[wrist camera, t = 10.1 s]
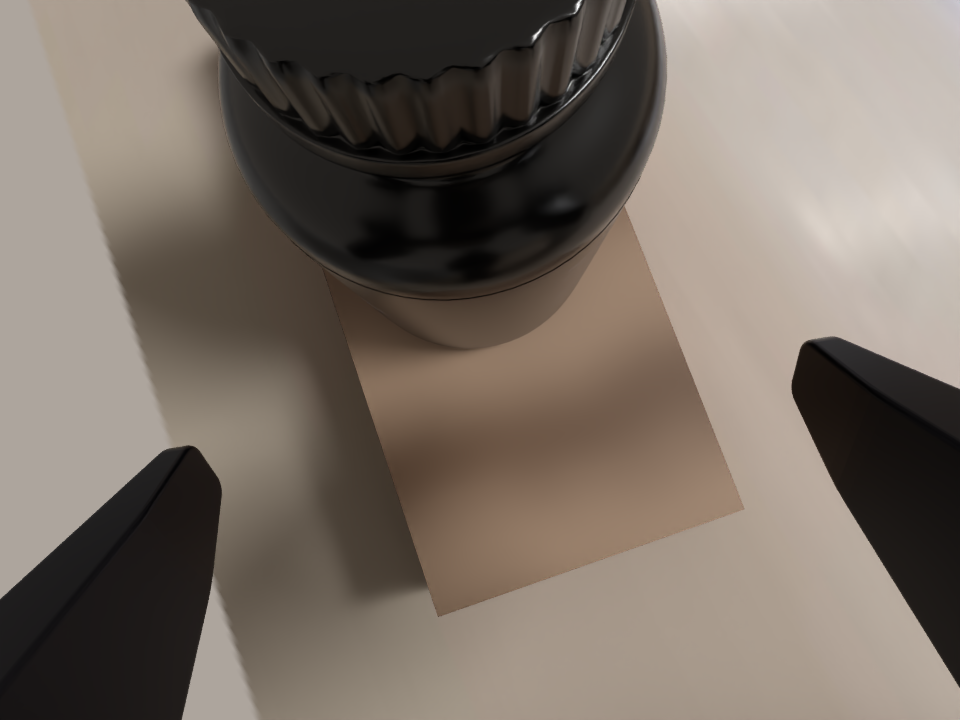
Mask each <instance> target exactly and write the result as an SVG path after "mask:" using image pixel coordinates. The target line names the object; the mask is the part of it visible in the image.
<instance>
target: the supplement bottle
mask: <svg viewBox="0 0 960 720" xmlns="http://www.w3.org/2000/svg"><path fill="white" fill-rule="evenodd" d="M186 2H187V3H188V4H189V6H190V7H191V8H192V11H193V13H194V14H195V16H196V18H197V19H198V21H199V22H200V24H201V25H202V26H203V27H204V29H205V30H206V31H207V33H208V34H209V35H210V37H211V38H212V39H213V40H214V42H215V43H216V44H217V46H218V48H219V57H218V89H219V101H220V108H221V115H222V120H223V124H224V128H225V132H226V136H227V140H228V143H229V146H230V149H231V152H232V154H233V157H234V160H235V162H236V164H237V166H238V169H239V171H240V173H241V175H242V177H243V179H244V181H245V183H246V185H247V186H248V188H249V190H250V191H251V193H252V194H253V196H254V198H255V199H256V201H257V202H258V204H259V205H260V206H261V208H262V209H263V210H264V211H265V213H266V214H267V215H268V217H269V218H270V219H271V220H272V221H273V222H274V223H275V224H276V225H277V226H278V227H279V229H280V230H281V231H282V232H283V233H284V234H285V235H286V236H287V237H288V238H289V239H290V240H291V241H292V242H293V243H294V244H295V245H296V246H297V247H299V248H300V249H301V250H302V251H303V252H304V253H306V254H307V255H308V256H309V257H310V258H311V259H313V260H314V261H315V262H316V263H318V264H319V265H320V266H321V267H323V268H324V269H325V270H326V271H328V272H329V273H330V274H332V275H333V276H334V277H335V278H337V279H338V280H339V281H340V282H342V283H343V284H344V285H345V286H347V287H348V288H349V289H351V290H352V291H353V292H354V293H356V294H357V295H358V296H359V297H361V298H362V299H363V300H364V301H366V302H367V303H368V304H370V305H371V306H372V307H373V308H375V309H376V310H377V311H378V312H380V313H381V314H382V315H383V316H385V317H386V318H387V319H389V320H390V321H391V322H393V323H394V324H396V325H397V326H399V327H400V328H402V329H403V330H405V331H406V332H408V333H410V334H412V335H414V336H416V337H418V338H420V339H422V340H425V341H428V342H431V343H434V344H437V345H441V346H446V347H451V348H460V349H477V348H487V347H492V346H497V345H501V344H504V343H508V342H510V341H513V340H515V339H518V338H520V337H522V336H524V335H526V334H528V333H530V332H531V331H533V330H534V329H536V328H537V327H539V326H540V325H542V324H543V323H544V322H545V321H547V320H548V319H549V318H550V317H551V316H552V315H553V314H554V313H555V312H556V311H558V309H559V308H560V307H561V306H562V305H563V304H564V302H565V301H566V300H567V298H568V297H569V296H570V294H571V293H572V291H573V290H574V289H575V287H576V286H577V284H578V282H579V281H580V279H581V277H582V276H583V274H584V272H585V271H586V269H587V267H588V266H589V264H590V262H591V261H592V259H593V257H594V256H595V254H596V252H597V251H598V249H599V247H600V246H601V244H602V242H603V241H604V239H605V237H606V236H607V234H608V232H609V231H610V229H611V227H612V226H613V224H614V222H615V221H616V219H617V217H618V216H619V214H620V212H621V211H622V209H623V207H624V206H625V204H626V202H627V201H628V199H629V197H630V195H631V193H632V192H633V190H634V188H635V186H636V184H637V183H638V181H639V179H640V177H641V174H642V172H643V170H644V168H645V165H646V163H647V161H648V158H649V156H650V154H651V151H652V149H653V146H654V143H655V140H656V137H657V134H658V131H659V127H660V124H661V119H662V114H663V109H664V104H665V94H666V83H667V55H666V46H665V37H664V31H663V26H662V22H661V17H660V13H659V9H658V6H657V3H656V0H186Z"/></svg>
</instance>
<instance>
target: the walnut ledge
mask: <svg viewBox="0 0 960 720" xmlns="http://www.w3.org/2000/svg"><path fill="white" fill-rule="evenodd" d="M322 268H323V267H322ZM323 271H324V274H325V277H326V280H327V283H328V286H329V289H330V293H331V296H332V299H333V302H334V305H335V308H336V311H337V314H338V317H339V320H340V323H341V326H342V329H343V332H344V335H345V338H346V341H347V344H348V347H349V350H350V353H351V356H352V359H353V362H354V365H355V368H356V371H357V374H358V377H359V380H360V383H361V386H362V389H363V392H364V395H365V398H366V401H367V404H368V407H369V410H370V413H371V416H372V419H373V422H374V425H375V428H376V431H377V434H378V437H379V440H380V443H381V446H382V449H383V452H384V455H385V458H386V461H387V464H388V467H389V470H390V473H391V476H392V480H393V483H394V486H395V489H396V492H397V495H398V498H399V501H400V504H401V507H402V510H403V513H404V516H405V519H406V522H407V525H408V528H409V531H410V534H411V537H412V540H413V543H414V546H415V549H416V552H417V555H418V558H419V561H420V564H421V567H422V570H423V573H424V576H425V579H426V582H427V585H428V588H429V591H430V594H431V597H432V600H433V603H434V606H435V609H436V612H437V615H438V617H439V616H442V615H445V614H448V613H451V612H454V611H456V610H459V609H462V608H465V607H468V606H471V605H473V604H476V603H479V602H482V601H485V600H488V599H491V598H493V597H496V596H499V595H502V594H505V593H508V592H510V591H513V590H516V589H519V588H522V587H525V586H528V585H530V584H533V583H536V582H539V581H542V580H545V579H547V578H550V577H553V576H556V575H559V574H562V573H564V572H567V571H570V570H573V569H576V568H579V567H582V566H584V565H587V564H590V563H593V562H596V561H599V560H601V559H604V558H607V557H610V556H613V555H616V554H618V553H621V552H624V551H627V550H630V549H633V548H636V547H638V546H641V545H644V544H647V543H650V542H653V541H655V540H658V539H661V538H664V537H667V536H670V535H672V534H675V533H678V532H681V531H684V530H687V529H690V528H692V527H695V526H698V525H701V524H704V523H707V522H709V521H712V520H715V519H718V518H721V517H724V516H727V515H729V514H732V513H735V512H738V511H741V510H744V507H743V504H742V501H741V499H740V496H739V494H738V491H737V489H736V486H735V484H734V481H733V479H732V476H731V474H730V471H729V469H728V466H727V464H726V461H725V459H724V456H723V453H722V451H721V448H720V446H719V443H718V441H717V438H716V436H715V433H714V431H713V428H712V426H711V423H710V421H709V418H708V416H707V413H706V411H705V408H704V405H703V403H702V400H701V398H700V395H699V393H698V390H697V388H696V385H695V383H694V380H693V378H692V375H691V373H690V370H689V368H688V365H687V363H686V360H685V358H684V355H683V352H682V350H681V347H680V345H679V342H678V340H677V337H676V335H675V332H674V330H673V327H672V325H671V322H670V320H669V317H668V315H667V312H666V310H665V307H664V304H663V302H662V299H661V297H660V294H659V292H658V289H657V287H656V284H655V282H654V279H653V277H652V274H651V272H650V269H649V267H648V264H647V262H646V259H645V257H644V254H643V251H642V249H641V246H640V244H639V241H638V239H637V236H636V234H635V231H634V229H633V226H632V224H631V221H630V219H629V216H628V214H627V211H626V209H625V206H624V207H623V209H622V211H621V212H620V214H619V216H618V217H617V219H616V221H615V222H614V224H613V226H612V227H611V229H610V231H609V232H608V234H607V236H606V237H605V239H604V241H603V242H602V244H601V246H600V247H599V249H598V251H597V252H596V254H595V256H594V257H593V259H592V261H591V262H590V264H589V266H588V267H587V269H586V271H585V272H584V274H583V276H582V277H581V279H580V281H579V282H578V284H577V286H576V287H575V289H574V290H573V291H572V293H571V294H570V296H569V297H568V298H567V300H566V301H565V302H564V304H563V305H562V306H561V307H560V308H559V309H558V311H556V312H555V313H554V314H553V315H552V316H551V317H550V318H549V319H548V320H547V321H545V322H544V323H543V324H542V325H540V326H539V327H537V328H536V329H534V330H533V331H531V332H530V333H528V334H526V335H524V336H522V337H520V338H518V339H515V340H513V341H510V342H508V343H504V344H501V345H497V346H492V347H487V348H477V349H460V348H451V347H446V346H441V345H437V344H434V343H431V342H428V341H425V340H422V339H420V338H418V337H416V336H414V335H412V334H410V333H408V332H406V331H405V330H403V329H402V328H400V327H399V326H397V325H396V324H394V323H393V322H391V321H390V320H389V319H387V318H386V317H385V316H383V315H382V314H381V313H380V312H378V311H377V310H376V309H375V308H373V307H372V306H371V305H370V304H368V303H367V302H366V301H364V300H363V299H362V298H361V297H359V296H358V295H357V294H356V293H354V292H353V291H352V290H351V289H349V288H348V287H347V286H345V285H344V284H343V283H342V282H340V281H339V280H338V279H337V278H335V277H334V276H333V275H332V274H330V273H329V272H328V271H326V270H325V269H324V268H323Z"/></svg>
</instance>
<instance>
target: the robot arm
mask: <svg viewBox="0 0 960 720" xmlns="http://www.w3.org/2000/svg"><path fill="white" fill-rule="evenodd" d="M792 394H793V398H794V400H795V403H796V405H797V407H798V409H799V411H800V413H801V415H802V417H803V420H804V422H805V424H806V426H807V428H808V430H809V432H810V434H811V437H812V439H813V441H814V443H815V445H816V447H817V449H818V451H819V453H820V456H821V458H822V460H823V462H824V464H825V466H826V468H827V470H828V473H829V475H830V477H831V478H832V480H833V482H834V484H835V486H836V488H837V490H838V492H839V493H840V495H841V497H842V498H843V500H844V502H845V504H846V505H847V507H848V508H849V510H850V512H851V513H852V515H853V516H854V518H855V520H856V521H857V523H858V524H859V526H860V528H861V529H862V531H863V533H864V534H865V536H866V537H867V539H868V541H869V542H870V544H871V545H872V547H873V549H874V550H875V552H876V554H877V555H878V557H879V558H880V560H881V562H882V563H883V565H884V566H885V568H886V570H887V571H888V573H889V575H890V576H891V578H892V579H893V581H894V583H895V584H896V586H897V587H898V589H899V591H900V592H901V594H902V596H903V597H904V599H905V600H906V602H907V604H908V605H909V607H910V608H911V610H912V612H913V613H914V615H915V616H916V618H917V620H918V621H919V623H920V625H921V626H922V628H923V629H924V631H925V633H926V634H927V636H928V637H929V639H930V641H931V642H932V644H933V646H934V647H935V649H936V650H937V652H938V654H939V655H940V657H941V658H942V660H943V662H944V663H945V665H946V667H947V668H948V670H949V671H950V673H951V675H952V676H953V678H954V679H955V681H956V683H957V684H958V686H959V687H960V389H958V388H956V387H953V386H951V385H949V384H946V383H944V382H942V381H939V380H937V379H935V378H932V377H930V376H928V375H925V374H923V373H921V372H918V371H916V370H914V369H911V368H909V367H907V366H904V365H902V364H900V363H897V362H895V361H893V360H890V359H888V358H886V357H883V356H881V355H879V354H876V353H874V352H872V351H869V350H867V349H865V348H862V347H860V346H858V345H855V344H853V343H851V342H848V341H846V340H844V339H841V338H838V337H824V338H818V339H812V340H808V341H806V342H805V343H804V344H803V345H802V346H801V348H800V352H799V356H798V359H797V363H796V367H795V371H794V375H793V379H792ZM221 497H222V490H221V484H220V481H219V479H218V477H217V476H216V474H215V473H214V471H213V470H212V468H211V467H210V466H209V464H208V463H207V461H206V460H205V458H204V457H203V455H202V454H201V452H200V451H199V450H198V449H197V448H196V447H194V446H189V445H188V446H182V447H176V448H170V449H167V450H164V451H162V452H161V453H160V454H159V455H158V456H157V457H155V458H154V459H153V460H152V461H151V462H150V463H149V464H148V465H147V466H146V467H145V468H144V469H142V470H141V471H140V472H139V473H138V474H137V475H136V476H135V477H134V478H133V479H131V480H130V481H129V482H128V483H127V484H126V485H125V486H124V487H123V488H122V489H121V490H119V491H118V492H117V493H116V494H115V495H114V496H113V497H112V498H111V499H110V500H108V501H107V502H106V503H105V504H104V505H103V506H102V507H101V508H100V509H99V510H97V511H96V512H95V513H94V514H93V515H92V516H91V517H90V518H89V519H88V520H87V521H85V522H84V523H83V524H82V525H81V526H80V527H79V528H78V529H77V530H76V531H74V532H73V533H72V534H71V535H70V536H69V537H68V538H67V539H66V540H65V541H64V542H62V544H60V545H59V546H58V547H57V548H56V549H55V550H54V551H53V552H51V553H50V554H49V555H48V556H47V557H46V558H45V559H44V560H43V561H42V562H40V564H38V565H37V566H36V567H35V568H34V569H33V570H32V571H31V572H30V573H28V574H27V575H26V576H25V577H24V578H23V579H22V580H21V581H20V582H19V583H18V584H16V585H15V586H14V587H13V588H12V589H11V590H10V591H9V592H8V593H7V594H5V595H4V596H3V597H2V598H1V599H0V720H182V715H183V711H184V707H185V702H186V698H187V694H188V689H189V684H190V680H191V676H192V671H193V666H194V663H195V658H196V653H197V649H198V645H199V640H200V635H201V631H202V627H203V623H204V618H205V614H206V609H207V605H208V600H209V595H210V590H211V584H212V577H213V569H214V560H215V551H216V542H217V533H218V524H219V515H220V506H221Z"/></svg>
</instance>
